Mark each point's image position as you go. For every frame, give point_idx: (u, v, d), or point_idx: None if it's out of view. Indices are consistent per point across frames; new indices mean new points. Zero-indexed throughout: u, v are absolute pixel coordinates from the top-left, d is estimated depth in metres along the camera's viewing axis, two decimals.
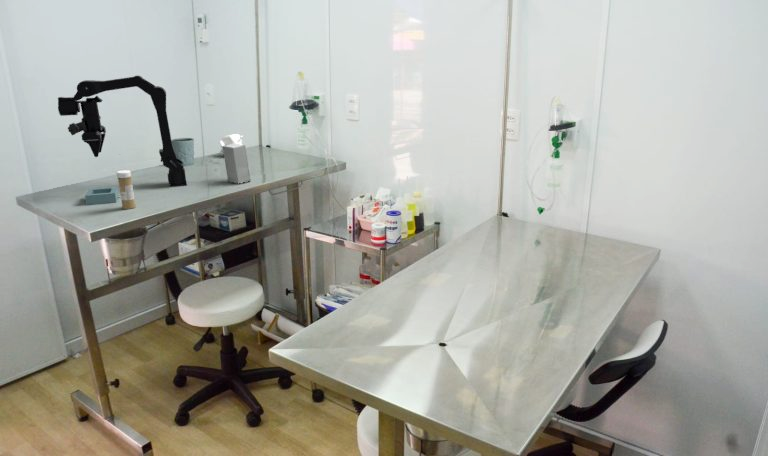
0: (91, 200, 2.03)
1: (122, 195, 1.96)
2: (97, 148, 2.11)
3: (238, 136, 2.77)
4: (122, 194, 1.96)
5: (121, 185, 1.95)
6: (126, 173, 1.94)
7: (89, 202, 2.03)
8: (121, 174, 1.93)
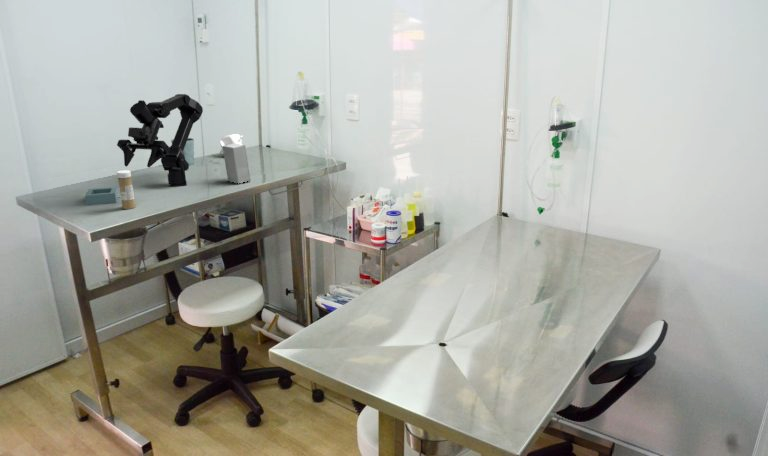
0: (91, 200, 2.03)
1: (122, 195, 1.96)
2: (155, 160, 2.04)
3: (238, 136, 2.77)
4: (122, 194, 1.96)
5: (121, 185, 1.95)
6: (126, 173, 1.94)
7: (89, 202, 2.03)
8: (121, 174, 1.93)
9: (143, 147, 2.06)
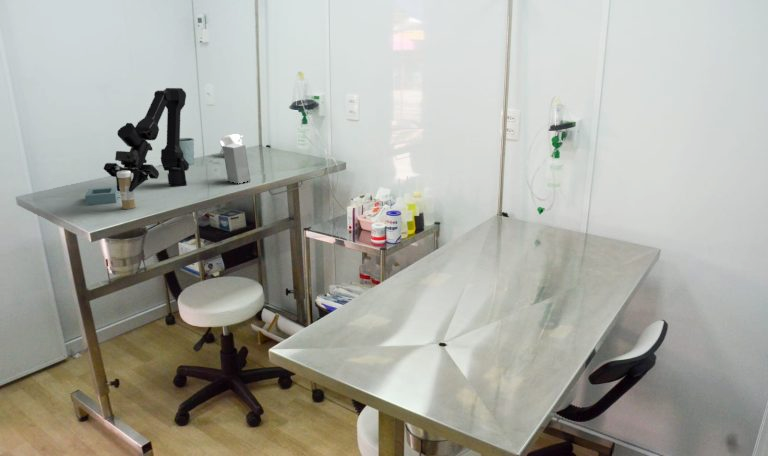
0: (91, 200, 2.03)
1: (122, 195, 1.96)
2: (137, 185, 1.98)
3: (238, 136, 2.77)
4: (122, 194, 1.96)
5: (121, 185, 1.95)
6: (126, 173, 1.94)
7: (89, 202, 2.03)
8: (121, 174, 1.93)
9: None
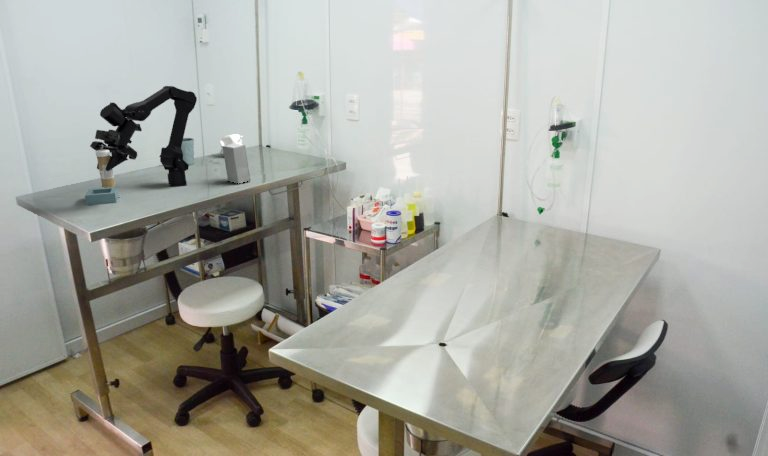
0: (91, 200, 2.03)
1: (100, 174, 1.98)
2: (115, 164, 1.99)
3: (238, 136, 2.77)
4: (100, 173, 1.98)
5: (99, 164, 1.97)
6: (103, 152, 1.96)
7: (89, 202, 2.03)
8: (98, 153, 1.95)
9: None
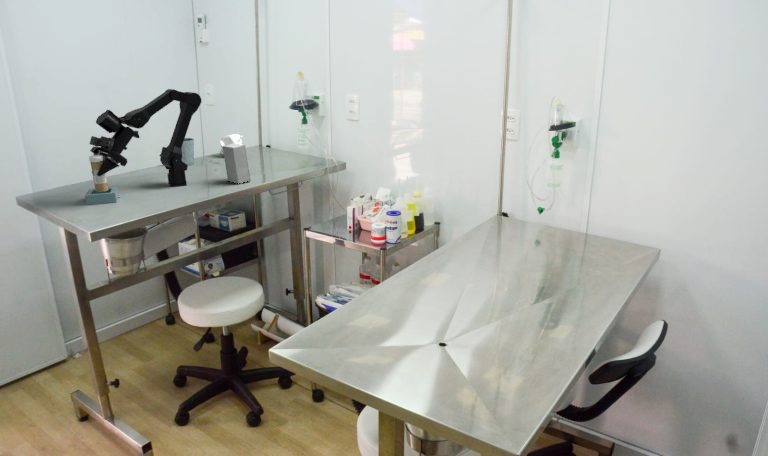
0: (91, 200, 2.03)
1: (93, 178, 2.05)
2: (107, 170, 2.04)
3: (238, 136, 2.77)
4: (93, 177, 2.04)
5: (92, 169, 2.03)
6: (94, 158, 2.01)
7: (89, 202, 2.03)
8: (90, 158, 2.01)
9: (105, 155, 2.08)
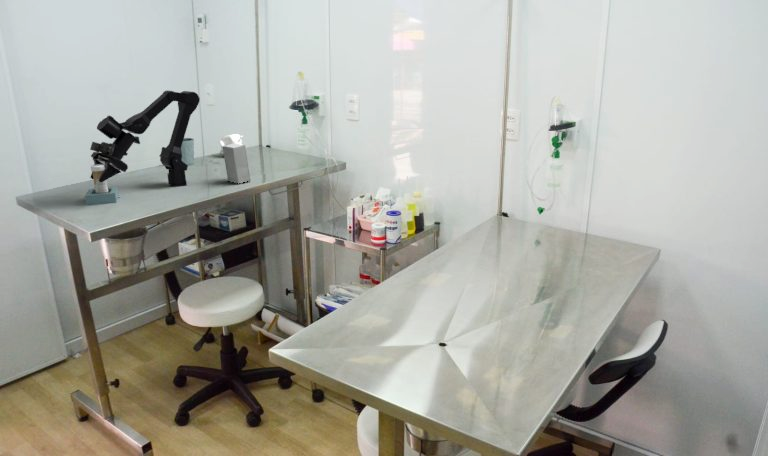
0: (91, 200, 2.03)
1: (95, 187, 2.06)
2: (108, 176, 2.04)
3: (238, 136, 2.77)
4: None
5: (93, 178, 2.04)
6: (96, 167, 2.02)
7: (89, 202, 2.03)
8: (92, 168, 2.03)
9: (107, 161, 2.08)
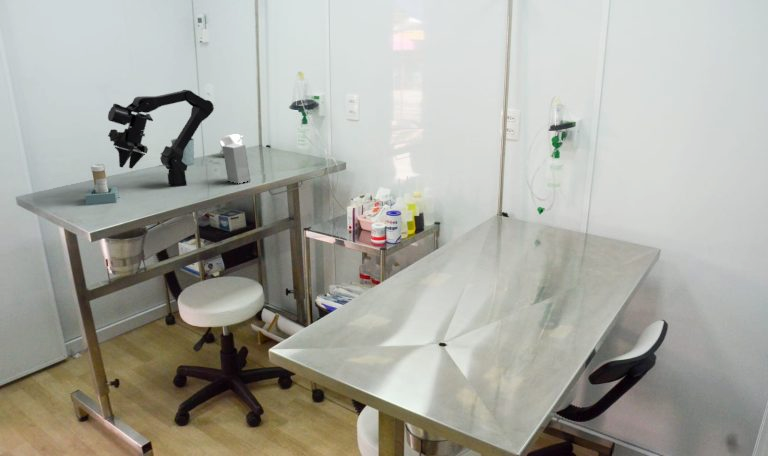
0: (91, 200, 2.03)
1: (95, 187, 2.06)
2: (124, 159, 2.08)
3: (238, 136, 2.77)
4: None
5: (93, 178, 2.05)
6: (96, 167, 2.03)
7: (89, 202, 2.03)
8: (92, 168, 2.03)
9: None
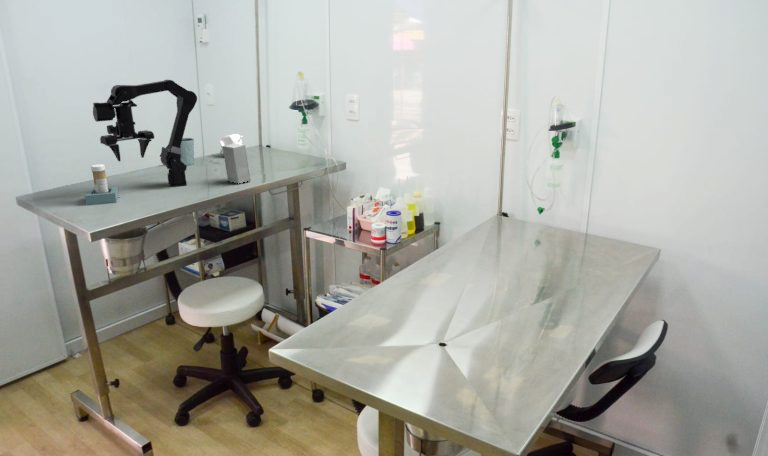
0: (91, 200, 2.03)
1: (95, 187, 2.06)
2: (116, 153, 2.10)
3: (238, 136, 2.77)
4: (95, 186, 2.06)
5: (93, 177, 2.05)
6: (96, 167, 2.03)
7: (89, 202, 2.03)
8: (92, 168, 2.03)
9: None
